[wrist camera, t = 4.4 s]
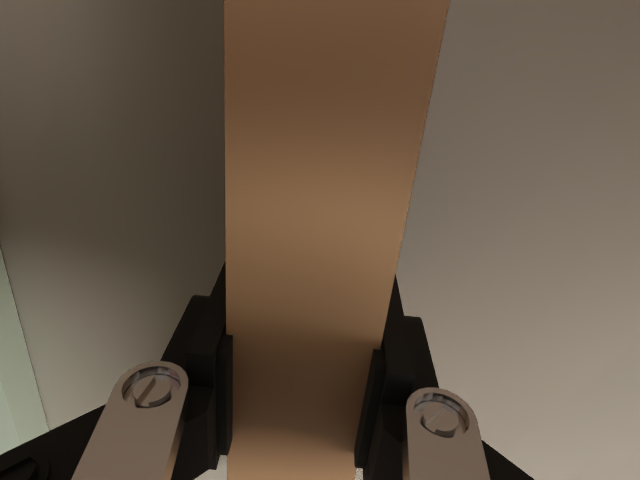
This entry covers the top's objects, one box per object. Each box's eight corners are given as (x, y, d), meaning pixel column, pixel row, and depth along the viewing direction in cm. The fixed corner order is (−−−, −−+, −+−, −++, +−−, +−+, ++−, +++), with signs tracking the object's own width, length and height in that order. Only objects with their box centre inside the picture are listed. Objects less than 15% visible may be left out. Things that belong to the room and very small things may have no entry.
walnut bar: (269, -92, 9) (223, -154, 5) (421, -76, 9) (475, -128, 5) (250, 485, 17) (227, 609, 14) (328, 492, 17) (326, 618, 14)
